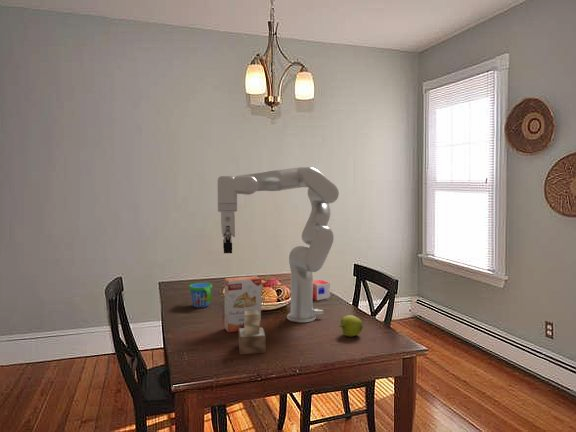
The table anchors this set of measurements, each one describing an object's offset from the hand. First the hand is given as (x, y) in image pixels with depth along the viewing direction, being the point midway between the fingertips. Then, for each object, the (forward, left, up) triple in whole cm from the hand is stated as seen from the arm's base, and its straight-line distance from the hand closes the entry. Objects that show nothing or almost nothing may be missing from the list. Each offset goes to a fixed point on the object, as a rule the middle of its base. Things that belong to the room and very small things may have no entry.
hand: (227, 251), depth 180 cm
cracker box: (-6, -2, -32) cm, 33 cm away
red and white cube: (-47, -45, -33) cm, 73 cm away
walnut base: (-8, +20, -32) cm, 39 cm away
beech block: (-8, +20, -26) cm, 34 cm away
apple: (-47, +12, -32) cm, 58 cm away
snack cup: (+12, -37, -32) cm, 51 cm away
